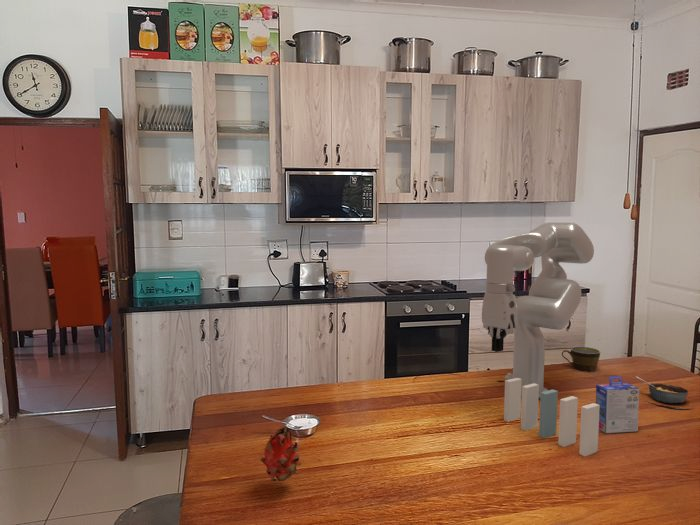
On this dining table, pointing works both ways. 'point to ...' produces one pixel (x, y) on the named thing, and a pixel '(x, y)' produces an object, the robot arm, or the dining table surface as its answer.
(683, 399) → the soup bowl
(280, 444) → the dragon fruit
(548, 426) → the domino
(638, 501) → the dining table surface
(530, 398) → the domino
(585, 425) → the domino
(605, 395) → the ink cartridge box
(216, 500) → the dining table surface
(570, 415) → the domino
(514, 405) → the domino
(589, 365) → the ceramic cup
